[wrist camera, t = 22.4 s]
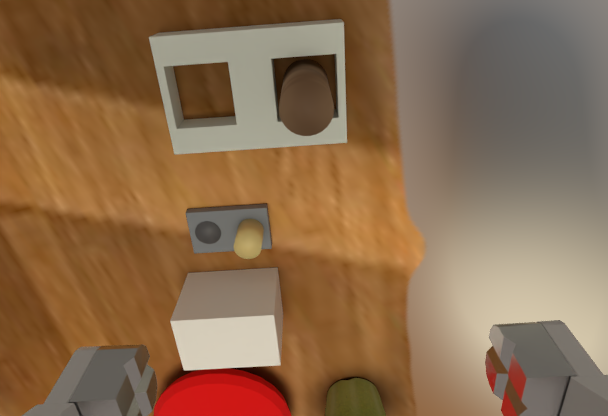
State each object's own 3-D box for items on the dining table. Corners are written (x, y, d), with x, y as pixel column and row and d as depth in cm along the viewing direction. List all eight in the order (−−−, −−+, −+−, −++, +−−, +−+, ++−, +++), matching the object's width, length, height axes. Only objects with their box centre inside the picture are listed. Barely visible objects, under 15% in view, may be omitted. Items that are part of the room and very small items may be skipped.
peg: (285, 105, 37) (281, 137, 30) (281, 60, 36) (276, 83, 29) (328, 102, 37) (335, 134, 30) (326, 57, 36) (333, 79, 29)
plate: (196, 248, 44) (187, 272, 41) (187, 208, 42) (177, 229, 38) (272, 244, 44) (269, 267, 40) (266, 203, 42) (264, 224, 38)
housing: (198, 318, 48) (183, 370, 42) (188, 272, 45) (170, 321, 39) (283, 313, 48) (280, 365, 42) (277, 267, 45) (273, 315, 39)
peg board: (181, 143, 39) (174, 154, 37) (158, 32, 35) (149, 37, 32) (344, 132, 38) (347, 142, 36) (341, 18, 34) (343, 22, 32)
